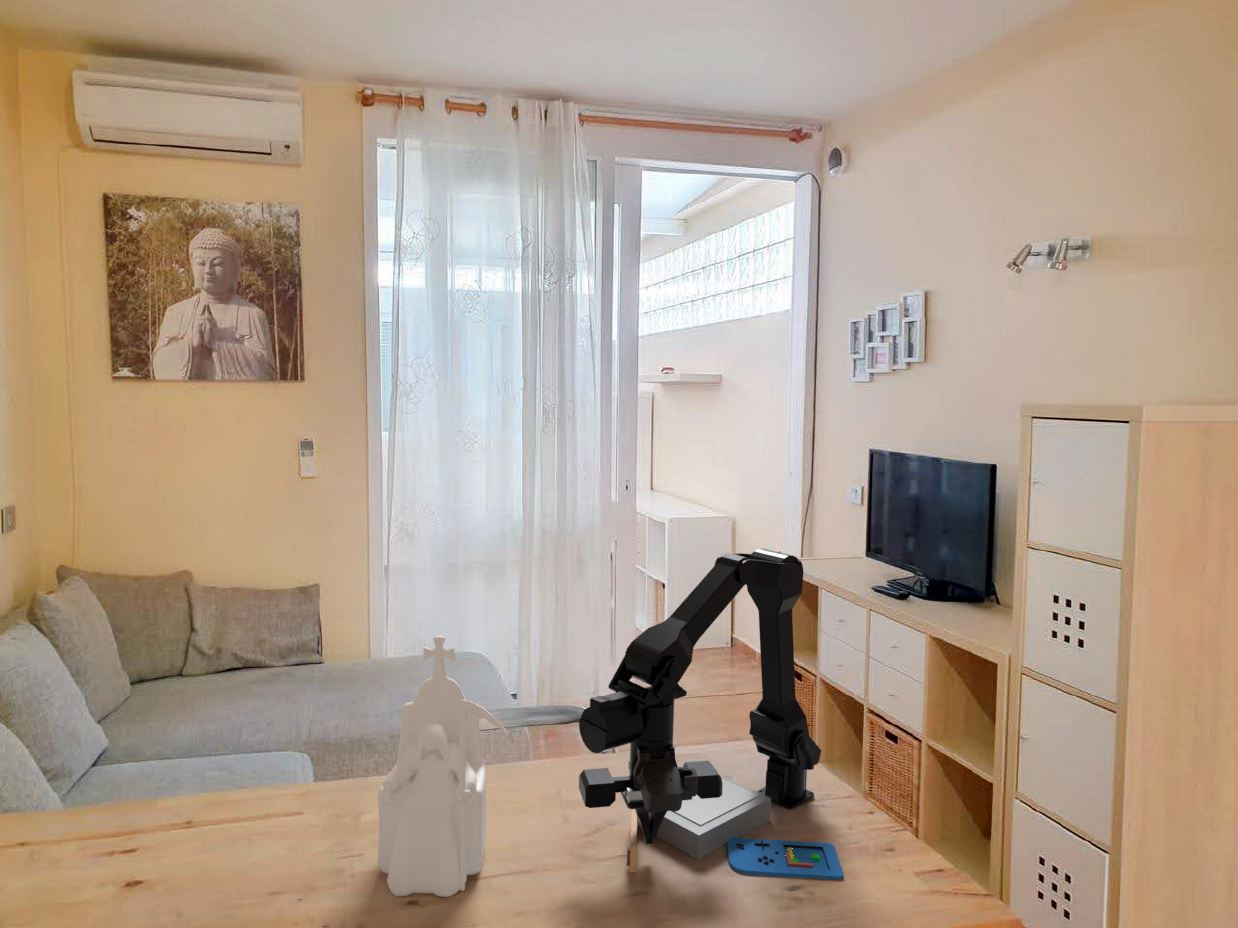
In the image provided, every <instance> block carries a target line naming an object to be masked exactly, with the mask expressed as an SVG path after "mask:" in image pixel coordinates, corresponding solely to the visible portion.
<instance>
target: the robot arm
mask: <svg viewBox="0 0 1238 928" xmlns="http://www.w3.org/2000/svg"><path fill="white" fill-rule="evenodd" d="M803 584H804V565H803V562H802V561H801V560H799V558H798V557H797V556H795V555H791V554H787V553H783V552H778V551H775V550H769V549H767V548H757V549H756V550H753V552H751V553H745V552H744V553H742V552H741V553H739V552H737V553H730V552H726V553H721V554H719V556H717V558H716V560H715V562H714V565H713V567H712V568H711V569H710V570H709V571H708V573H707V574H706V575H705V576H704V577H703V578H702V579H701V581H700V582H699V583H698V584H697V585H696V586H695V588H693V590H692V591H691V592H690V593H689V594H688V595H687V597H686V598H685V599H684V600H683V601H682V602H681V603H680V604H679V606H678V607H677V608H676V609H675V610H674V611H673V613H672V614H671V615H670V616H669V617H667V619H665V620H664V621H663V622H660V623H656V624H655V625H653V626H650V627H648V628H647V629H645V630H643V632H641V633H640V634H639V635H638V636H637V637H636V638H635V639H633V640H632V641H631V642H630V644H629V645H628V646H627V648H626V650H625V655H624V656H623V658H622V660H621V662H620V663H619V665H618V667H617V670H616V671H615V673H614V675H613V677H612V678H611V680H610V682H609V684H608V689H609V690H611V691H613V692H612V693H610V694H606V695H596V696H594V697H591V698H590V699H589V707H587V708H585V709H584V710H583V711H582V713H581V716H580V718H579V719H578V720H579V721H578V727H579V728H578V729H579V734H580V737H581V740H582V742H583V744H584V746H585V747H586V748H587V749H588V750H589V751H590V752H591V753H593V754H601V753H604V752H607V751H610V750H612V749H616V748H619V747H622V746H625V745H628V744H630V745H629V746H630V747H629V750H630V751H629V761H628V770H629V775H626V776H625V775H624V776H614V777H613V776H612V774H611V772H610V770H609V768H608V767H604V768H601V767H600V768H590V769H589V768H588V769H583V770H582V771H581V772H580V774H579V776H578V789H579V792H580V795H581V798H582V800H583V801H582V802H583V803H584V807H586V808H589V809H595V808H596V809H597V808H607V807H611V806H612V805H613V804H614V803H615V801H616V800H617V799H616V797H617V796H616V795H617V793H619V794H621V797H622V799H623V801H624V803H625V805H626V807H627V809H628V810H632V809H635V811H636V814H637V817H638V820H639V823H640V827H639V828H640V829H641V833H642V835H643V839H644V842H645V845H653V843H654V841H655V839H656V837H657V836H656V834H657V832H658V829H659V827H660V825H661V822H662V820H663V818H664V816H665V814H666V813H667V811H672V812H675V811H679V810H680V809H681V806H682V801H683V800H692V797H694V796H696V794H697V795H698V796H699V797H700V798H701V799H706V798H718V797H720V796H722V785H723V784H722V779H721V776H720V775H721V774H720V775H719V773H718V770H717V769H716V768H715V766H714V765H713V764H712V763H711V762H710V760H699V761H685V762H684V764H683V766H678V763H677V759H676V749H675V746H674V722H675V721H674V720H675V700H677V699H680V698H681V699H682V698H684V697H686V696H687V695H688V692H687V690H685V689H684V688H683V687H682V686H681V685H680V684H679V682H680V681H681V679H682V678H683V676H684V674H685V673H686V671H687V670H688V668H689V667H690V665H691V663H692V662H693V661H692V660H693V653H694V647H695V646H696V644H697V642H698V641H699V640H700V639H701V637H702V636H703V635H704V634H705V633H706V631H708V629H709V628H710V627H711V625H712V624H713V623H714V622H715V620H717V618H719V616H720V615H721V614H722V613H723V612H724V610H725V609H726V608H727V607H728V605H729V604H730V603H731V602H732V601H733V599H734V598H735V597H737V595H738V594H739V593H740V592H741V590H742V589H743V588H744V587H745V586H746V588H747V593H748V594H749V596H750V598H751V600H752V601H753V603H754V604H755V607H756V608H757V611H758V627H759V645H760V646H759V649H760V669H761V670H760V672H761V690H762V691H761V692H762V695H761V696H762V697H761V698H762V699H760V702H759V703H758V705H756V708H755V709H753V710H750V712H749V715H748V716H749V722H750V725H749V726H750V729H749V733H748V734H749V735H751V736H752V740H753V741H754V743H755V747H756V751H757V753H758V754H762V755H765V756H767V757H768V759H767V761H766V763H767V764H766V771H765V786H763V787H762V788H760V789H758V790H757V792H759V793H761V794H763V795H766V796H768V797H770V798H771V802H774V803H775V804H778V805H780V806H781V807H785V808H787V809H790V810H792V809H794V808H796V807H797V806H800V805H802V804H803V803H805V802H807V801H809V800H811V799H812V798H814V797H815V793H814V792H812V791H811V790H808V789H807V779H808V777H807V776H808V774H807V773H808V770H809V771H812V770H814V768H815V766H816V765H818V764H819V761H820V758H821V755H822V749H821V748H820V747H819V746H818V744H817V743H816V742H815V741H814V739H812V737H811V736H810V731H809V725H808V720H807V719H808V718H807V715H806V714H805V712H804V710H803V708H802V707H801V705H800V703H799V701H798V700H797V698H796V697H797V696H796V677H795V654H794V653H795V650H794V626H793V623H794V622H793V608H794V607H795V606H796V604H797V602H798V600H800V599H799V598H800V597H801V595H802V593H803ZM632 678H633V679H635V680H638V681H640V682H643V683H645V684H647V685H649V686H647V687H645V686H642V685H640V684H638V683H635V682H633V681H631V679H632Z"/></svg>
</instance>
